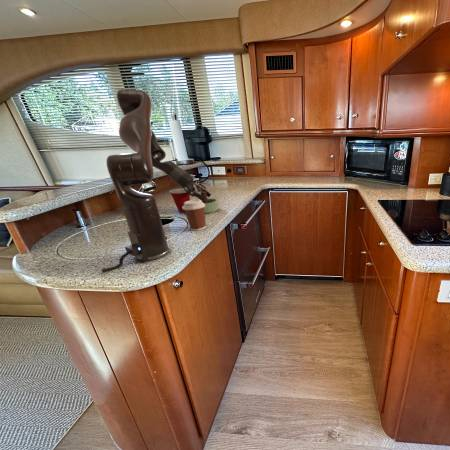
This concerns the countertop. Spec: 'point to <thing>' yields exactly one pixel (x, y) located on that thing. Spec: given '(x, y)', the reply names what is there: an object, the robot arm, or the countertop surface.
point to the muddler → (205, 197)
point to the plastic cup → (180, 198)
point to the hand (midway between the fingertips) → (207, 197)
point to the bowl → (211, 206)
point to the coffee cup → (195, 214)
